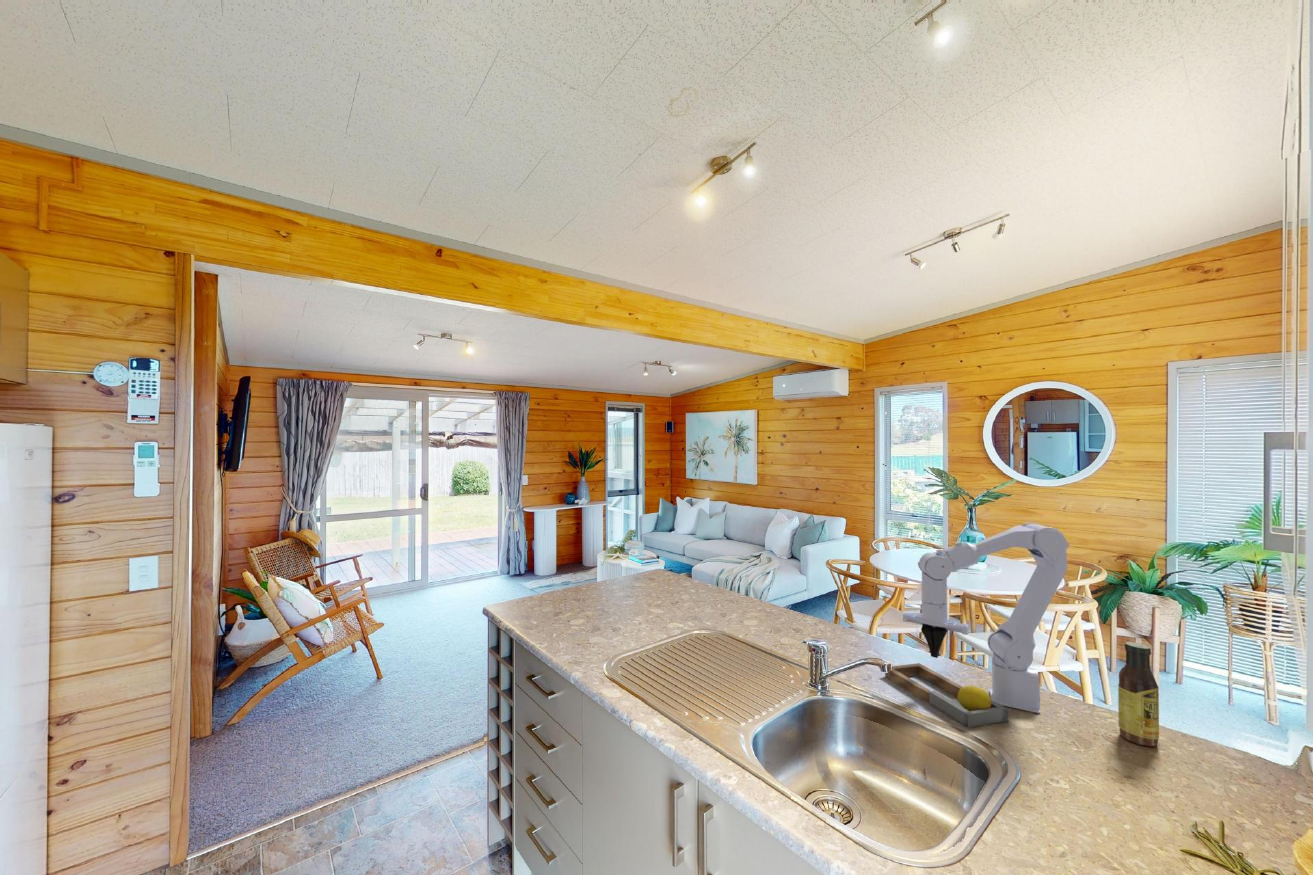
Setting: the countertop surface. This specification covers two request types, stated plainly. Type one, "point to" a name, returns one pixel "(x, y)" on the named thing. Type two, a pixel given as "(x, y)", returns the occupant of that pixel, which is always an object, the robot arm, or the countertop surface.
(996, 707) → the tray
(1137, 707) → the sauce bottle
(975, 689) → the lemon
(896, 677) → the slot rails
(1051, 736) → the countertop surface
